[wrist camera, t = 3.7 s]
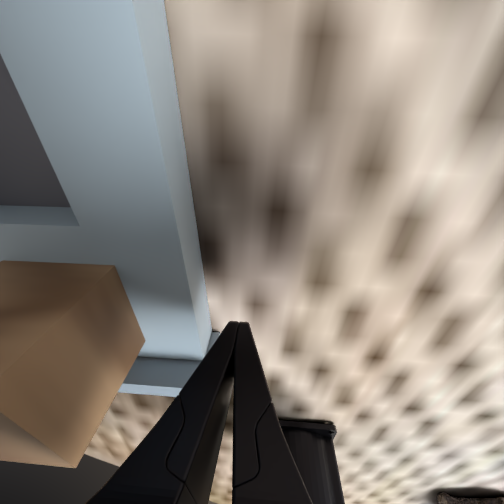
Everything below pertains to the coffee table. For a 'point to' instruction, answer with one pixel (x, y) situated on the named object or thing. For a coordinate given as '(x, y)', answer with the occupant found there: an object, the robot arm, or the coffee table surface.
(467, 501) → the stone
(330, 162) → the coffee table surface
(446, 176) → the coffee table surface
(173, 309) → the trap box
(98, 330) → the block
